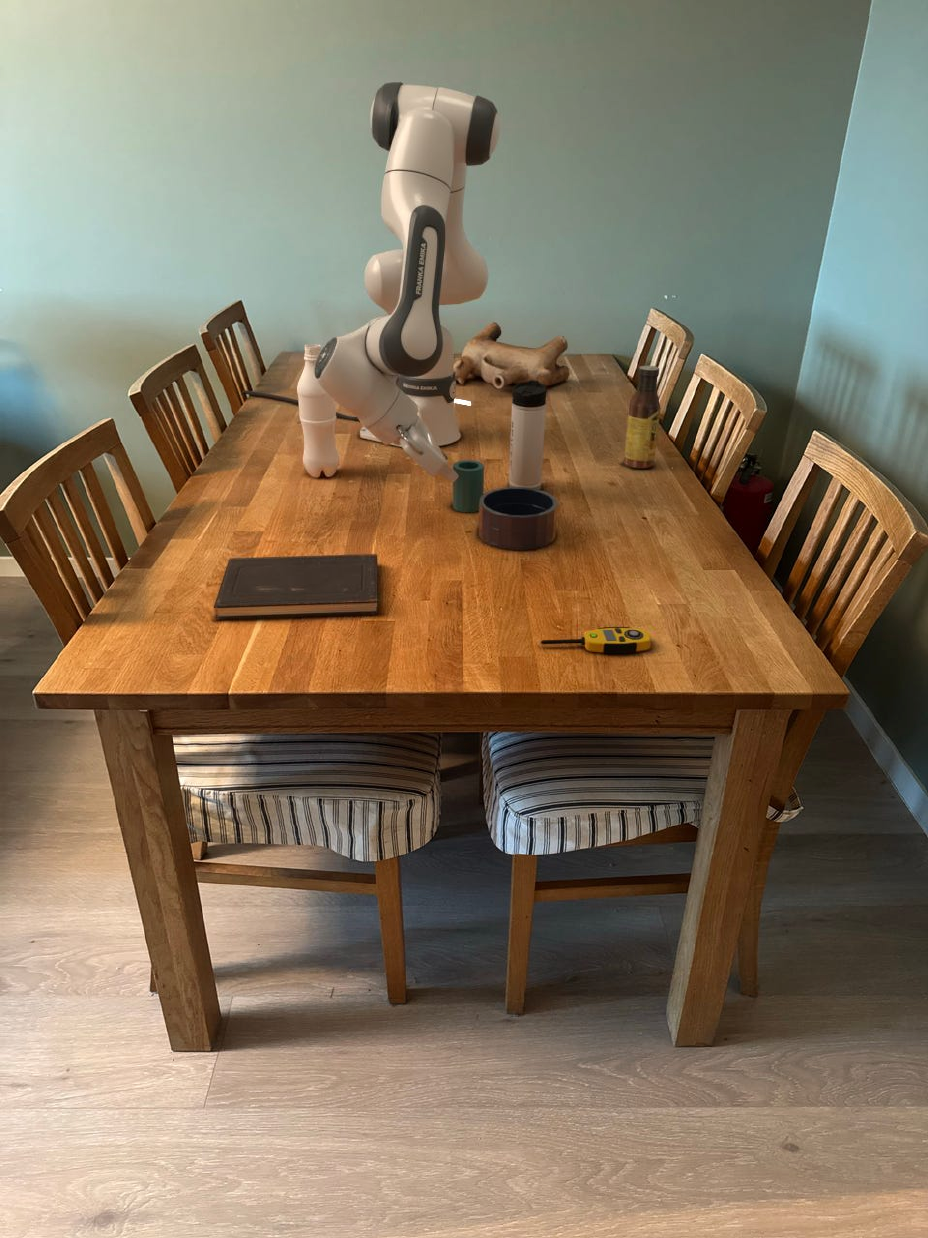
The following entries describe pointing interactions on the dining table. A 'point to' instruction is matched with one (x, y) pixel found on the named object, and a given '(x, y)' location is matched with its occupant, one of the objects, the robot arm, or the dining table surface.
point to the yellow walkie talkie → (611, 640)
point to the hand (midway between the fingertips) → (449, 469)
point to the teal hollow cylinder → (468, 485)
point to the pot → (517, 518)
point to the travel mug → (527, 434)
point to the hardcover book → (298, 587)
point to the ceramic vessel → (510, 360)
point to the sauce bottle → (643, 420)
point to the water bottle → (316, 419)
